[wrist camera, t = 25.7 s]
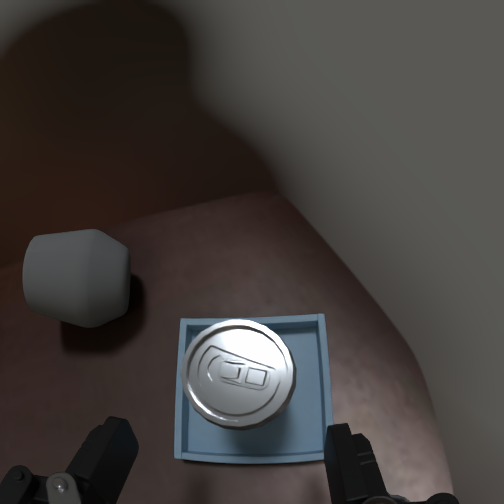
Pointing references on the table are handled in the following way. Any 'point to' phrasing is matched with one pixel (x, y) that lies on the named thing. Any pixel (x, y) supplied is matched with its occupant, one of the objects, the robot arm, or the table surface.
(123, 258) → the cup
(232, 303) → the table surface
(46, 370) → the table surface
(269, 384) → the beer can
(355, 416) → the table surface
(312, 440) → the tray
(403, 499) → the grey chess piece
